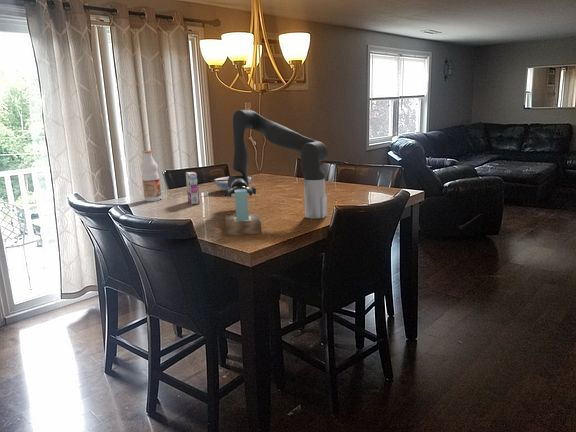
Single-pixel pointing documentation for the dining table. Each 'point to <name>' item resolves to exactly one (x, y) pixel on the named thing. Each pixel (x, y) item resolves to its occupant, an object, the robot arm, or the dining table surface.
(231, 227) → the plinth
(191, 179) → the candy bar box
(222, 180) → the ramen bowl
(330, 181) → the dining table surface
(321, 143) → the robot arm
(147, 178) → the fruit juice
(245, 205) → the column
